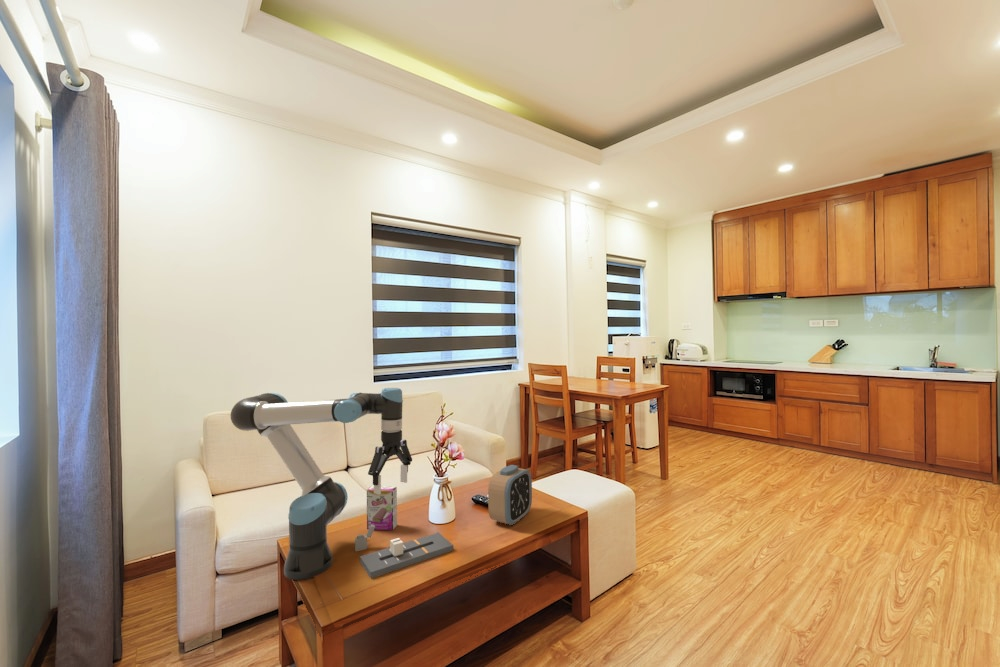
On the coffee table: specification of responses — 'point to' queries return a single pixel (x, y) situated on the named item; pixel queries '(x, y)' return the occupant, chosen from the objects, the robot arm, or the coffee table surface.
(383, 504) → the candy bar box
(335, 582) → the coffee table surface
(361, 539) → the lighter
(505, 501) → the alarm clock
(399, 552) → the fader knob
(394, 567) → the console
